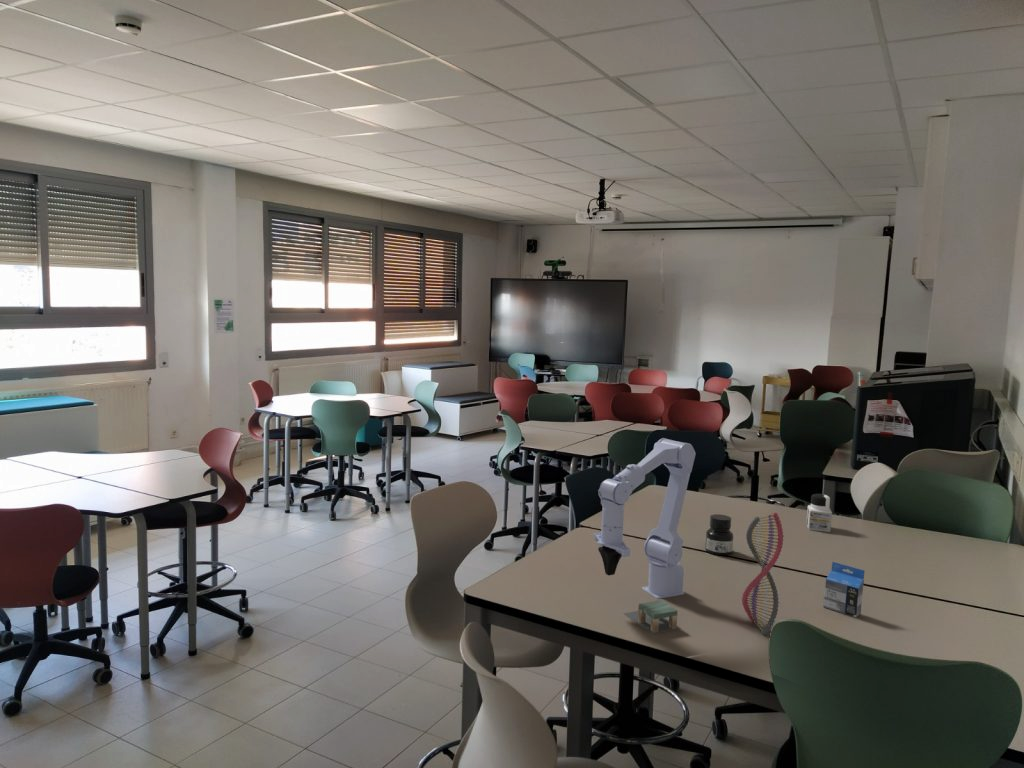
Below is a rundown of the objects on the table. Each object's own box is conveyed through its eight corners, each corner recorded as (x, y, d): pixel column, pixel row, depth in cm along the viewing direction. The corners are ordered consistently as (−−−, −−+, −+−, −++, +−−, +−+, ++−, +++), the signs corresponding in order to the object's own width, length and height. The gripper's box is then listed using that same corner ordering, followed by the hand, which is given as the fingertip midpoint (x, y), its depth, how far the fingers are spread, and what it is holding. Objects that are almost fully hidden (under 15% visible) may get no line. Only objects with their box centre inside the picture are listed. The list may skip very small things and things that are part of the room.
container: (808, 530, 267) (810, 496, 265) (806, 524, 274) (808, 491, 273) (830, 532, 264) (833, 498, 263) (827, 526, 272) (830, 493, 270)
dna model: (768, 620, 186) (776, 509, 183) (782, 636, 177) (791, 520, 174) (735, 620, 186) (742, 509, 183) (747, 635, 177) (755, 519, 174)
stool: (638, 603, 182) (654, 614, 176) (660, 600, 185) (677, 610, 179) (637, 621, 183) (653, 632, 177) (659, 616, 186) (676, 628, 179)
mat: (651, 609, 191) (651, 608, 191) (681, 629, 179) (681, 628, 179) (623, 614, 187) (623, 613, 187) (651, 635, 176) (651, 634, 176)
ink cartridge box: (822, 607, 196) (826, 564, 195) (828, 603, 199) (831, 561, 197) (856, 618, 190) (859, 573, 188) (861, 614, 192) (865, 570, 191)
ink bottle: (704, 554, 236) (706, 519, 235) (703, 545, 245) (705, 512, 243) (734, 557, 234) (736, 522, 233) (732, 549, 242) (734, 515, 241)
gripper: (585, 518, 192) (583, 566, 194) (614, 534, 179) (612, 586, 181) (607, 516, 195) (604, 563, 197) (637, 531, 182) (635, 582, 184)
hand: (610, 574), depth 189 cm, fingers closed
